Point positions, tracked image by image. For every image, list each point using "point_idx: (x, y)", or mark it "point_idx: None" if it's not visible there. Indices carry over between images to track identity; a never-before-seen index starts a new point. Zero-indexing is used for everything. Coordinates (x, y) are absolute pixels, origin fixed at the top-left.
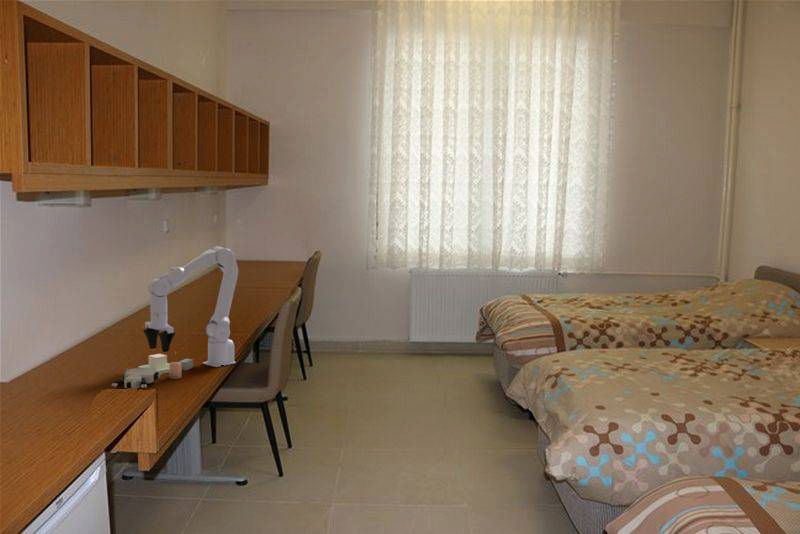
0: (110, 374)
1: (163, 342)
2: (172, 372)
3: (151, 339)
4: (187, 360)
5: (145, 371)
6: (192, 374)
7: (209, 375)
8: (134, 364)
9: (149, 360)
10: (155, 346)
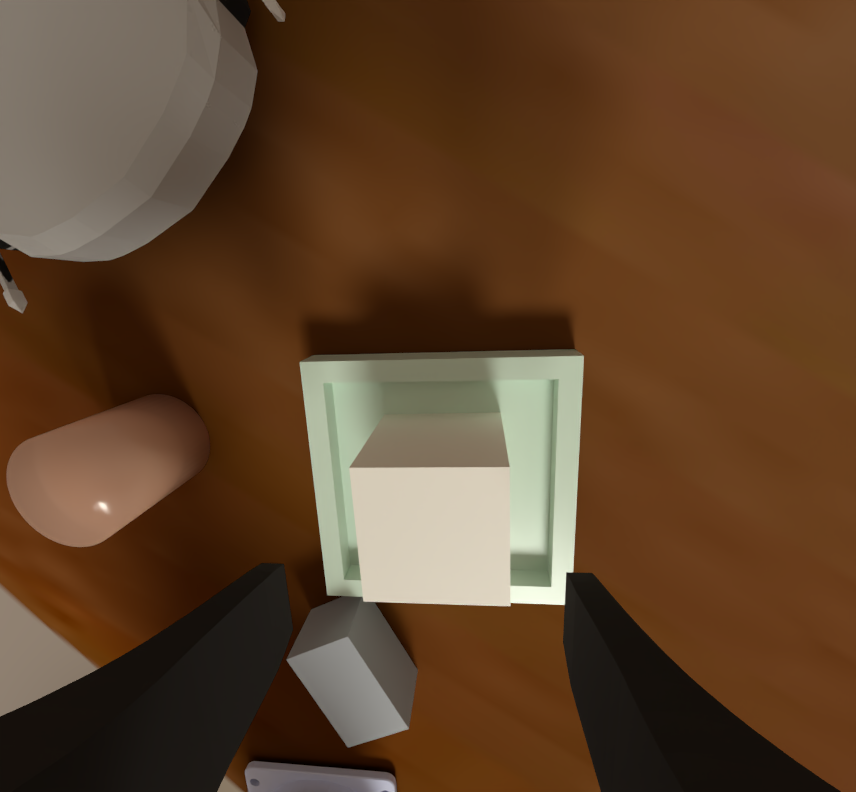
0: (642, 31)
1: (113, 666)
2: (95, 414)
3: (615, 718)
4: (343, 702)
5: (6, 107)
6: (175, 566)
7: (91, 619)
8: (806, 443)
9: (487, 444)
10: (569, 655)
